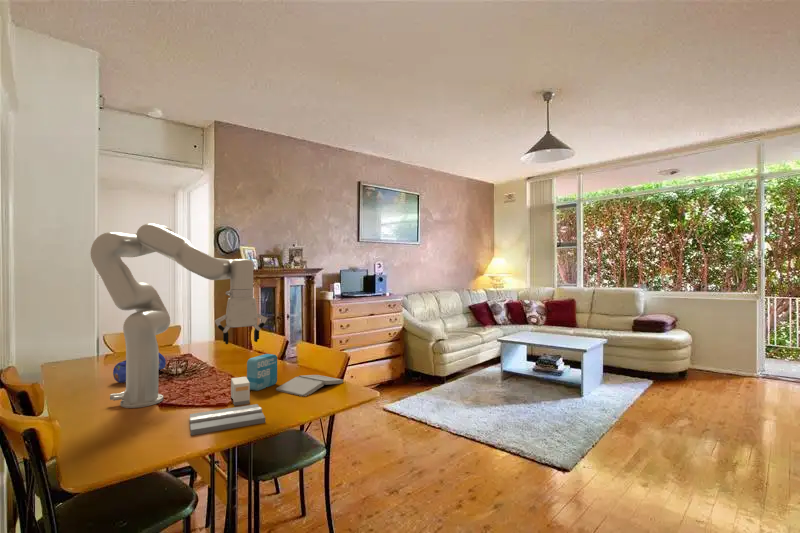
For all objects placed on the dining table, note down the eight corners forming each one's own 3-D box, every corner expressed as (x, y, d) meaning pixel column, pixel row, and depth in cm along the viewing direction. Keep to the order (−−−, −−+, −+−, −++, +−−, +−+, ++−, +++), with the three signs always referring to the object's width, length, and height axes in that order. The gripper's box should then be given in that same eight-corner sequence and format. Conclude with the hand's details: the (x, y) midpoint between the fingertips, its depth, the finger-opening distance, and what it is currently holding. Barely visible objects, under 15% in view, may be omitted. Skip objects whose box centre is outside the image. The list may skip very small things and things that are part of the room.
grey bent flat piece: (303, 398, 147) (303, 388, 147) (275, 392, 155) (275, 382, 155) (343, 383, 166) (343, 374, 166) (316, 378, 174) (316, 370, 174)
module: (234, 406, 137) (234, 384, 137) (230, 398, 145) (231, 378, 145) (249, 403, 139) (249, 382, 139) (245, 396, 148) (245, 376, 148)
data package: (255, 391, 153) (255, 360, 153) (246, 390, 155) (246, 358, 155) (277, 383, 164) (277, 354, 164) (268, 382, 166) (268, 353, 166)
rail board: (190, 435, 113) (190, 427, 113) (189, 418, 125) (189, 411, 125) (265, 422, 122) (265, 414, 122) (257, 408, 135) (257, 401, 135)
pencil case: (151, 370, 185) (151, 349, 185) (168, 370, 184) (168, 349, 184) (110, 383, 164) (110, 359, 164) (129, 384, 162) (130, 360, 162)
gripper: (215, 295, 136) (215, 346, 135) (269, 294, 144) (268, 342, 144) (214, 294, 142) (213, 343, 142) (265, 292, 151) (264, 339, 150)
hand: (241, 342), depth 143 cm, fingers open, 9 cm apart
